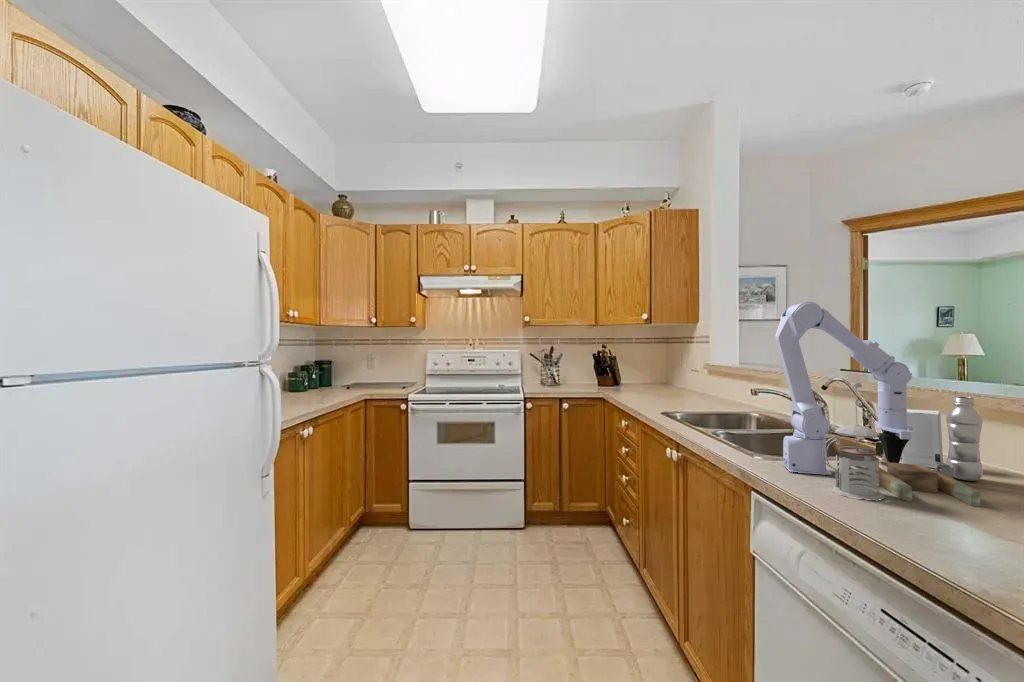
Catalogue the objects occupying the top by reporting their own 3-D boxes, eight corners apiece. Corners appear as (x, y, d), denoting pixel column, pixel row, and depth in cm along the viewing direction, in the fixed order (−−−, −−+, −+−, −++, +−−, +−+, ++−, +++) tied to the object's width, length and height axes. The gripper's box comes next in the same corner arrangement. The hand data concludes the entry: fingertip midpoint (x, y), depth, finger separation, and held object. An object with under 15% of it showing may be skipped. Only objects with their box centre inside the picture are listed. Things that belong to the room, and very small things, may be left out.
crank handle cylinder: (941, 484, 110) (940, 458, 110) (929, 478, 115) (929, 453, 115) (956, 486, 110) (956, 459, 110) (944, 479, 114) (944, 454, 114)
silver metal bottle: (966, 475, 117) (965, 395, 117) (991, 484, 111) (990, 399, 111) (938, 475, 118) (937, 395, 118) (961, 483, 111) (960, 399, 111)
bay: (903, 500, 100) (903, 486, 100) (868, 476, 118) (868, 464, 118) (980, 506, 96) (980, 491, 96) (932, 480, 114) (932, 468, 114)
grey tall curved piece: (895, 502, 99) (894, 384, 99) (834, 499, 102) (833, 383, 102) (870, 487, 109) (869, 380, 109) (814, 485, 111) (813, 379, 111)
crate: (899, 489, 108) (898, 470, 108) (886, 480, 115) (886, 462, 115) (938, 493, 106) (938, 473, 106) (923, 483, 112) (923, 464, 112)
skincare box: (943, 465, 127) (942, 410, 127) (941, 470, 122) (940, 413, 122) (903, 460, 133) (902, 407, 133) (899, 464, 129) (899, 410, 128)
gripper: (926, 413, 111) (927, 471, 111) (897, 405, 125) (898, 456, 125) (890, 412, 113) (891, 469, 113) (866, 404, 127) (867, 454, 127)
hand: (893, 462), depth 119 cm, fingers closed
